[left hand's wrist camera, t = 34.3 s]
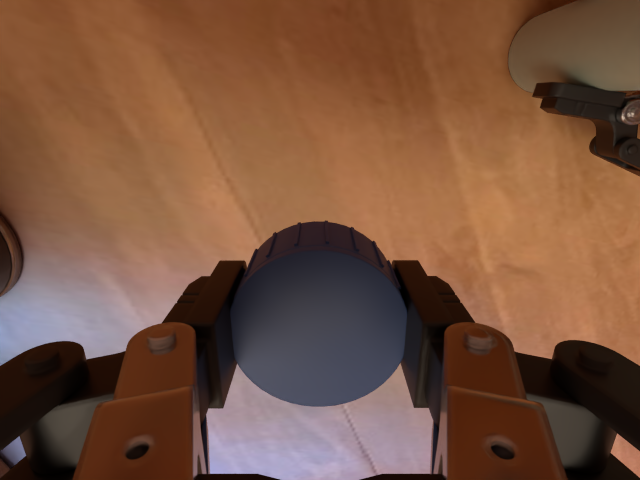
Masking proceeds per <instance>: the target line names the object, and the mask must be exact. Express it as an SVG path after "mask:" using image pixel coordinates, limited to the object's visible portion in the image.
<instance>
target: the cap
mask: <svg viewBox="0 0 640 480" xmlns="http://www.w3.org/2000/svg"><path fill="white" fill-rule="evenodd" d="M400 289H401V286H400V284H399V282H398V279H397V277H396V275H395V272H394V270H393V268H392V266H391V263H390V261H389V260H388V261H387V260H386V258H385V256H384V255H383V253H382V252H381V251H380V249H379V248H378V247H377V245H376V243H375V241H373V242H372V241H371V240H370V239H368V238H367V237H366V236H364V235H363V234H361V233H360V232H358V231H356V230H354V228H353V227H351V228H349V227H347V226H344V225H340V224H336V223H331V222H328V221H325V222H307V223H301V222H300V223H298V224H297V225H293V226H291V227H288V228H286V229H283V230H281V231H280V232H278V233H276V232H275V233H273V236H272V237H270V238H269V239H268V240H267V241H265V242H264V243H263V244H262V245H261V246H260V248H259V249H255V251H254V253H253V256H252V258H251V260H250V263H249V265H248V267H247V269H246V270H245V272H244V275H243V277H242V279H241V282H240V284H239V286H238V288H237V291H236V293H235V295H234V300H233V303H232V305H231V308H230V316H231V327H232V338H233V349H234V358H235V360H236V362H237V363H238V365H239V367H240V368H241V370H242V371H243V372H244V374H245V375H246V376H247V377H248V378H249V379H250V380H251V381H252V382H253V383H254V384H255V385H257V386H258V387H259V388H261V389H262V390H264V391H265V392H267V393H269V394H270V395H272V396H274V397H276V398H279V399H281V400H284V401H287V402H290V403H294V404H298V405H304V406H333V405H339V404H344V403H347V402H350V401H354V400H356V399H359V398H361V397H363V396H365V395H367V394H369V393H370V392H372V391H374V390H375V389H377V388H378V387H379V386H381V385H382V384H383V383H384V382H385V381H386V380H387V379H388V378H389V377H390V376H391V375H392V374H393V373H394V371H395V370H396V369H397V367H398V366H399V364H400V362H401V360H402V358H403V356H404V346H405V335H406V323H407V308H406V305H405V302H404V300H403V297H402V295H401V293H400Z"/></svg>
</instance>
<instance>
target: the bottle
mask: <svg viewBox="0 0 640 480" xmlns="http://www.w3.org/2000/svg"><path fill="white" fill-rule="evenodd" d="M508 66H509V71H510V74H511V77H512V78H513V80H514V82H515V83H516V84H517V85H518V86H519V87H520V88H522V89H523V90H525V91H528V92H531V93H533V92H534V89H535V86H536V83H544V82H561V83H568V84H574V85H580V86H586V87H592V88H598V89H603V90H608V91H635V90H640V0H577V1H575V2H572V3H569V4H567V5H564V6H562V7H559V8H556V9H554V10H551V11H548V12H546V13H543V14H541V15H538V16H536V17H534V18H532V19H531V20H529V21H528V22H527V23H525V24H524V25H523V26H522V27H521V29H520V30H519V31H518V32H517V34H516V36H515V37H514V39H513V41H512V44H511V46H510V50H509V55H508Z"/></svg>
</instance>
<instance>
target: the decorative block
mask: <svg viewBox="0 0 640 480" xmlns="http://www.w3.org/2000/svg"><path fill="white" fill-rule="evenodd" d="M9 470H10V468H9V467H8V466H7V465H6V464H5V463H4V462H3V461H2V460H1V459H0V478H1V477H2V476H3V475H4V474H6V473H7V472H8V471H9Z"/></svg>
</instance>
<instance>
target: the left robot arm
mask: <svg viewBox="0 0 640 480" xmlns="http://www.w3.org/2000/svg"><path fill="white" fill-rule="evenodd" d="M21 265H22V257H21V251H20V247H19V244H18V241H17V239H16V236H15V234H14V233H13V231H12V229H11V228H10V226H9V225H8V223H7V222H6V221H5V220H4V218H3V217H2V216H1V215H0V297H1V296H3V295H4V294H6V293H7V292H8V291H9V290H10V289H11V288H12V287H13V286H14V285H15V283H16V282H17V280H18V278H19V275H20V272H21ZM391 266H392V268H393V270H394V272H395V275H396V277H397V279H398V282H399V284H400V286H401V289H400V293H401V295H402V297H403V300H404V302H405V305H406V308H407V323H406V335H405V346H404V356H403V358H402V360H401V362H400V363H401V366H402V369H403V373H404V376H405V379H406V382H407V386H408V389H409V392H410V396H411V399H412V402H413V406H414V408H429V410H430V413H431V416H432V418H433V426H432V440H431V461H430V474H380V475H376V476H372V477H369V478H365V479H361V480H640V478H639V477H638V476H637V475H636V474H634V473H633V472H632V471H631V470H630V469H629V468H627V467H626V466H625V465H624V464H623V463H622V462H620V461H619V460H618V459H617V458H616V457H615V456H613V455H612V454H611V453H610V452H611V449H612V446H613V443H614V441H615V438H616V435H617V433H618V434H619V435H620V436H622V437H623V438H624V439H625V440H627V441H628V442H629V443H630V444H632V445H633V446H634V447H635V448H637V449H638V450H639V451H640V366H639V365H637V364H636V363H634V362H632V361H631V360H629V359H627V358H626V357H624V356H622V355H621V354H619V353H617V352H615V351H613V350H611V349H609V348H607V347H604V346H601V345H598V344H595V343H591V342H586V341H579V340H568V341H563V342H560V343H558V344H557V345H556V346H555V349H554V353H553V357H552V359H548V358H543V357H537V356H532V355H527V354H522V353H518V352H514V348H513V345H512V342H511V341H510V339H509V338H508V337H507V336H506V335H504V334H503V333H502V332H500V331H498V330H496V329H494V328H492V327H489V326H487V325H483V324H478V323H475V321H474V320H473V319H472V317H471V316H470V314H469V313H468V311H467V310H466V308H465V307H464V306H463V304H462V303H460V300H459V298H458V297H457V295H455V293H454V291H453V290H452V288H451V287H450V285H449V284H448V283H446V282H445V281H443V280H441V279H440V278H438V277H437V276H427V274H426V273H425V271H424V269H423V268H422V266H421V264H420V263H419V261H418V260H393V261H392V265H391ZM246 269H247V265H246V262H245V261H219V263H218V264H217V266H216V268H215V269H214V271H213V272H212V274H211V276H202V277H200V278H198V279H197V280H195V281H194V282H192V283H190V284H189V285H188V287H187V288H186V289H185V291H184V292H183V295H181V297H180V298H179V299H178V301H177V303H176V304H175V305H174V307H173V308H172V309H171V311H170V312H169V314H168V315H167V316H166V318H165V319H164V321H163V322H162V324H157V325H153V326H151V327H148V328H146V329H144V330H142V331H140V332H138V333H137V334H136V335H134V336H133V337H132V338H131V339H130V341H129V342H128V345H127V348H126V351H124V352H121V353H117V354H113V355H107V356H102V357H97V358H92V359H87V360H86V356H85V352H84V349H83V347H82V346H81V345H80V344H78V343H75V342H70V341H60V342H52V343H48V344H44V345H40V346H37V347H35V348H32V349H29V350H27V351H25V352H23V353H21V354H19V355H18V356H16V357H14V358H13V359H11V360H9V361H8V362H6V363H4V364H3V365H1V366H0V451H1V450H2V449H3V448H5V447H6V446H7V445H8V444H10V443H11V442H12V441H13V440H15V439H16V438H17V437H18V436H20V439H21V442H22V444H23V447H24V450H25V453H26V456H25V457H24V458H23V459H22V460H21V461H20V462H18V463H17V464H16V465H15V466H14V467H13V468H11V469H10V470H9V471H8V472H7V473H6V474H4V475H3V476H2V477H1V478H0V480H279V479H275V478H271V477H268V476H264V475H260V474H210V461H209V440H208V426H207V418H206V413H207V411H208V408H223V407H224V404H225V401H226V397H227V394H228V391H229V388H230V385H231V381H232V378H233V375H234V372H235V369H236V365H237V362H236V360H235V358H234V349H233V338H232V327H231V316H230V308H231V305H232V303H233V300H234V295H235V293H236V291H237V288H238V286H239V284H240V282H241V279H242V277H243V275H244V272H245V270H246Z"/></svg>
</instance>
